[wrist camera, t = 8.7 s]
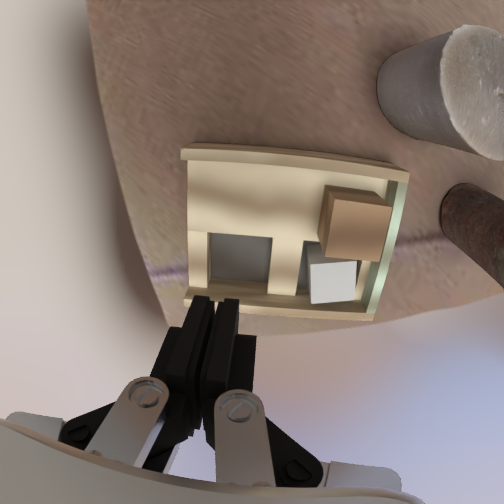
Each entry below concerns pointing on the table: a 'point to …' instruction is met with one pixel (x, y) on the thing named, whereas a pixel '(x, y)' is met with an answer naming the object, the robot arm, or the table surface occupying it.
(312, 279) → the trapped grey block
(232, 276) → the tray
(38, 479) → the robot arm
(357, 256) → the walnut block
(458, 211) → the brown wooden cylinder
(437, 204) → the table surface
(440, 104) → the pillar candle
